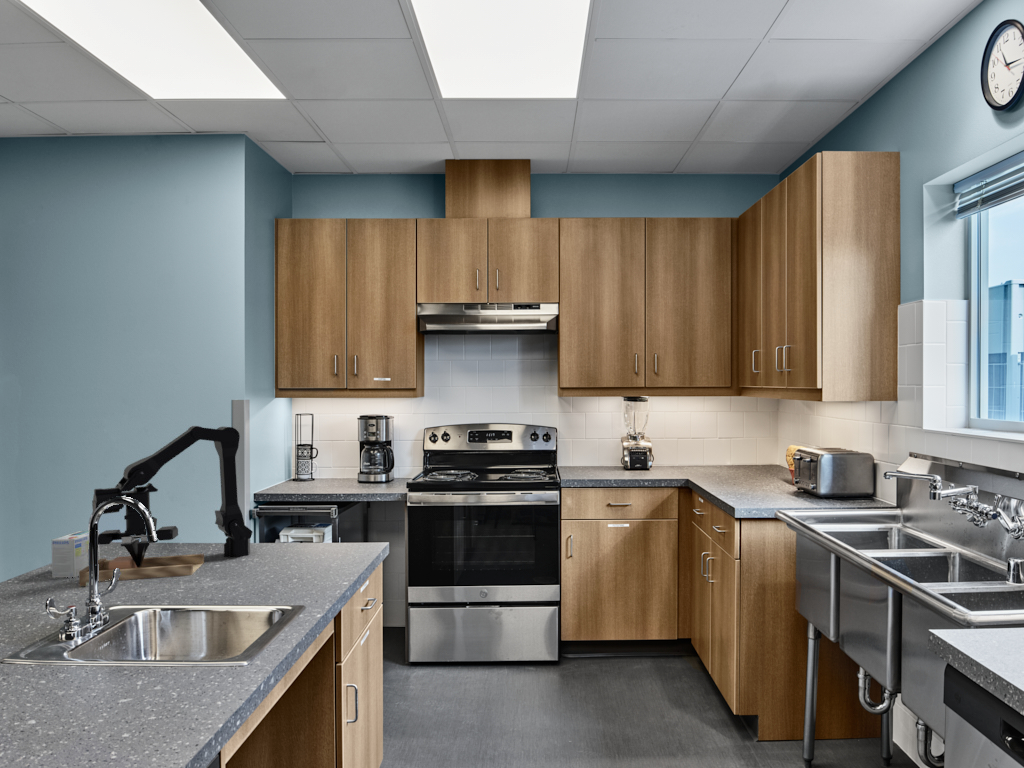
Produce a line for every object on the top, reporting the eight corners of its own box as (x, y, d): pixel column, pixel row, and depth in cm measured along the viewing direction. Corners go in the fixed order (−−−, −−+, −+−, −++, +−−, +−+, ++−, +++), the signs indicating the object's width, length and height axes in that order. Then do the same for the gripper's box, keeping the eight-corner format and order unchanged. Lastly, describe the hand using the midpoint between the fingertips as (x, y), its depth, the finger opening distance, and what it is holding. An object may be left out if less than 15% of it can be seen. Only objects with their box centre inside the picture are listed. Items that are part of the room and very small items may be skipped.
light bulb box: (78, 567, 186) (78, 530, 186) (101, 567, 186) (100, 530, 186) (50, 578, 176) (50, 539, 176) (74, 578, 175) (74, 538, 176)
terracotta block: (137, 569, 179) (136, 555, 179) (129, 575, 173) (129, 561, 173) (117, 571, 178) (116, 557, 178) (109, 577, 172) (108, 562, 172)
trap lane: (204, 565, 185) (203, 551, 186) (191, 578, 173) (191, 563, 173) (100, 573, 180) (100, 558, 180) (79, 586, 167) (79, 571, 167)
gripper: (183, 502, 186) (184, 556, 186) (111, 506, 182) (113, 561, 182) (171, 509, 175) (172, 566, 175) (95, 513, 171) (96, 572, 171)
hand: (139, 566), depth 176 cm, fingers closed
